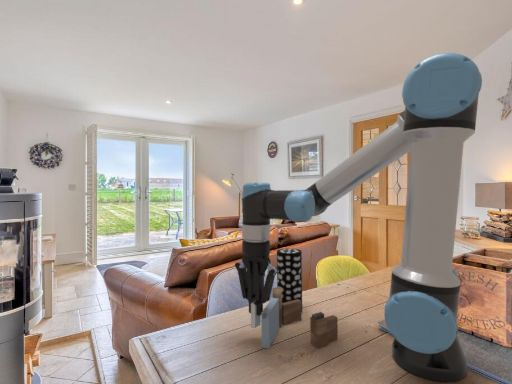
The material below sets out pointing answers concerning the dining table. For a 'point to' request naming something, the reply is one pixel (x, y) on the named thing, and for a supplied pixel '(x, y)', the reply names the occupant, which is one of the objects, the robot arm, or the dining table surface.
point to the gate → (270, 322)
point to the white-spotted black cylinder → (290, 274)
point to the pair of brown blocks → (320, 326)
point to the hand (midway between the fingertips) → (255, 325)
